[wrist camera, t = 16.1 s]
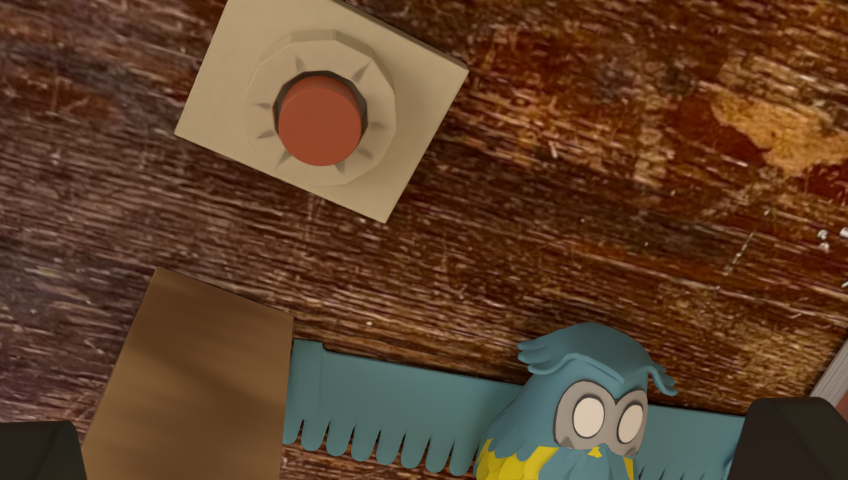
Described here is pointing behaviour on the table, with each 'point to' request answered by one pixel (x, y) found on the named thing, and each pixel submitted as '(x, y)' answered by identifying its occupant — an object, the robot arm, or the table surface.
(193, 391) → the wooden block
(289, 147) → the red button
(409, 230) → the table surface
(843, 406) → the picture frame
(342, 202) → the push button box
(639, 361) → the owl figurine
